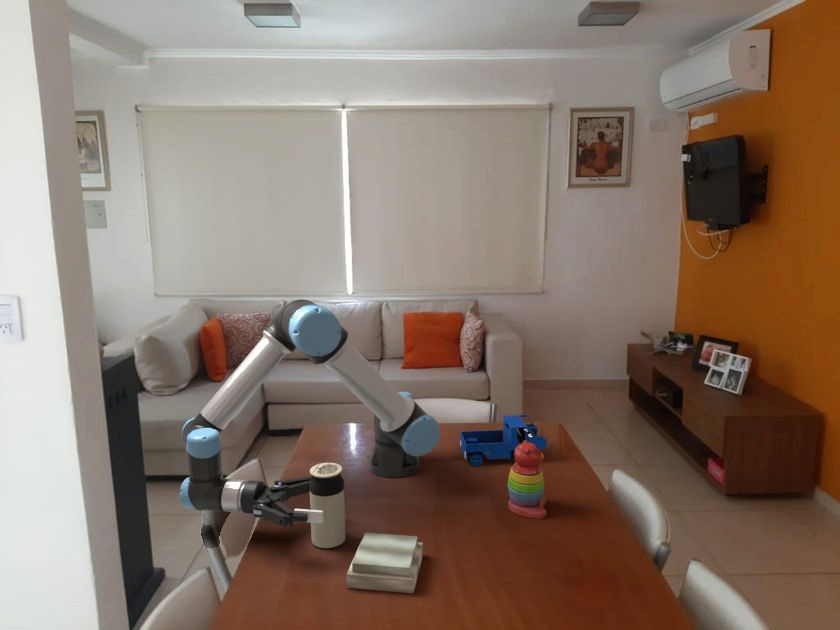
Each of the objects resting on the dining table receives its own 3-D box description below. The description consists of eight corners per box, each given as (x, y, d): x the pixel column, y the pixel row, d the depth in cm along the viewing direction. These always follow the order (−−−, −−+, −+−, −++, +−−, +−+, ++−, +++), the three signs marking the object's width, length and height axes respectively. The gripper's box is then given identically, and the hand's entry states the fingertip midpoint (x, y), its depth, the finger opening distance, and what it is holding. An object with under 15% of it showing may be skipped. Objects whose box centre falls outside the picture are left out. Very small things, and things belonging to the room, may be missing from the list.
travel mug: (351, 534, 145) (349, 464, 142) (336, 552, 138) (333, 478, 135) (321, 528, 148) (319, 460, 145) (305, 546, 141) (302, 473, 137)
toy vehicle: (465, 467, 182) (466, 430, 180) (459, 451, 194) (460, 416, 192) (546, 464, 184) (547, 427, 182) (535, 448, 196) (537, 413, 194)
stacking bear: (546, 520, 152) (548, 453, 148) (505, 516, 154) (507, 450, 150) (546, 499, 162) (548, 437, 159) (508, 496, 164) (509, 434, 161)
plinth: (362, 550, 139) (362, 530, 138) (422, 554, 137) (422, 534, 136) (346, 587, 125) (346, 565, 124) (413, 593, 123) (413, 571, 122)
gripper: (266, 487, 157) (346, 492, 154) (222, 539, 132) (315, 546, 129) (265, 460, 155) (345, 464, 152) (220, 507, 131) (314, 514, 128)
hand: (331, 502), depth 141 cm, fingers open, 13 cm apart
